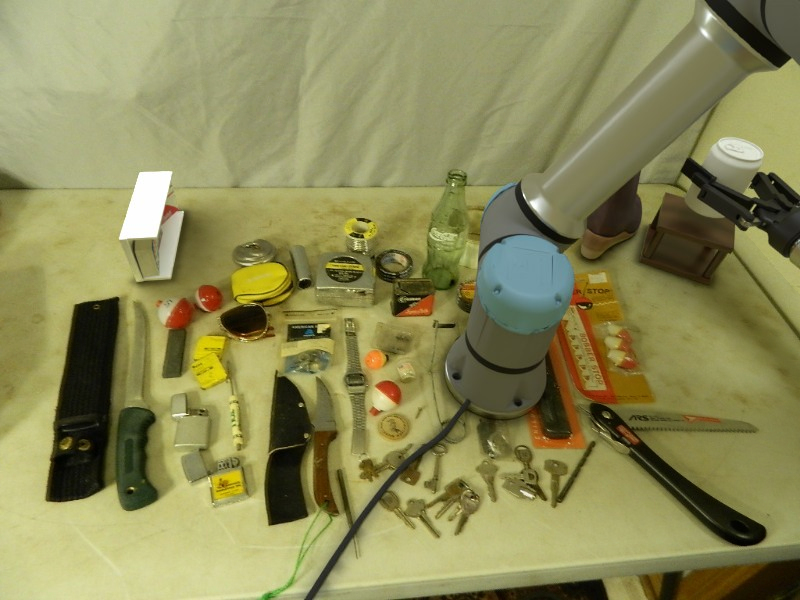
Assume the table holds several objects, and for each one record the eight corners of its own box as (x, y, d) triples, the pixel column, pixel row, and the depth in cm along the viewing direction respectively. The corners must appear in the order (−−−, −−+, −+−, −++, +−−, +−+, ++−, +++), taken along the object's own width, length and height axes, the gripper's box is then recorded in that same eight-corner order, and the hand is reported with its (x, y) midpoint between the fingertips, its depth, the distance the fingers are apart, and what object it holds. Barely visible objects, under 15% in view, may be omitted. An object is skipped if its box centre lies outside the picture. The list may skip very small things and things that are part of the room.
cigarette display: (170, 280, 91) (156, 237, 84) (136, 281, 90) (118, 239, 83) (184, 208, 104) (173, 167, 97) (154, 210, 103) (141, 168, 96)
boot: (649, 215, 113) (693, 129, 99) (606, 274, 99) (650, 184, 85) (610, 199, 116) (647, 113, 102) (564, 253, 103) (599, 163, 88)
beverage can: (727, 226, 92) (766, 167, 84) (679, 211, 95) (712, 151, 86) (731, 203, 98) (767, 144, 89) (685, 188, 100) (717, 130, 91)
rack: (708, 285, 99) (734, 249, 93) (638, 261, 103) (658, 225, 96) (712, 248, 107) (736, 212, 100) (647, 227, 110) (665, 192, 104)
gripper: (743, 272, 80) (648, 187, 94) (842, 248, 86) (738, 171, 100) (771, 233, 74) (666, 149, 89) (875, 210, 80) (760, 135, 95)
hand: (704, 161), depth 94 cm, fingers closed on beverage can, 8 cm apart
